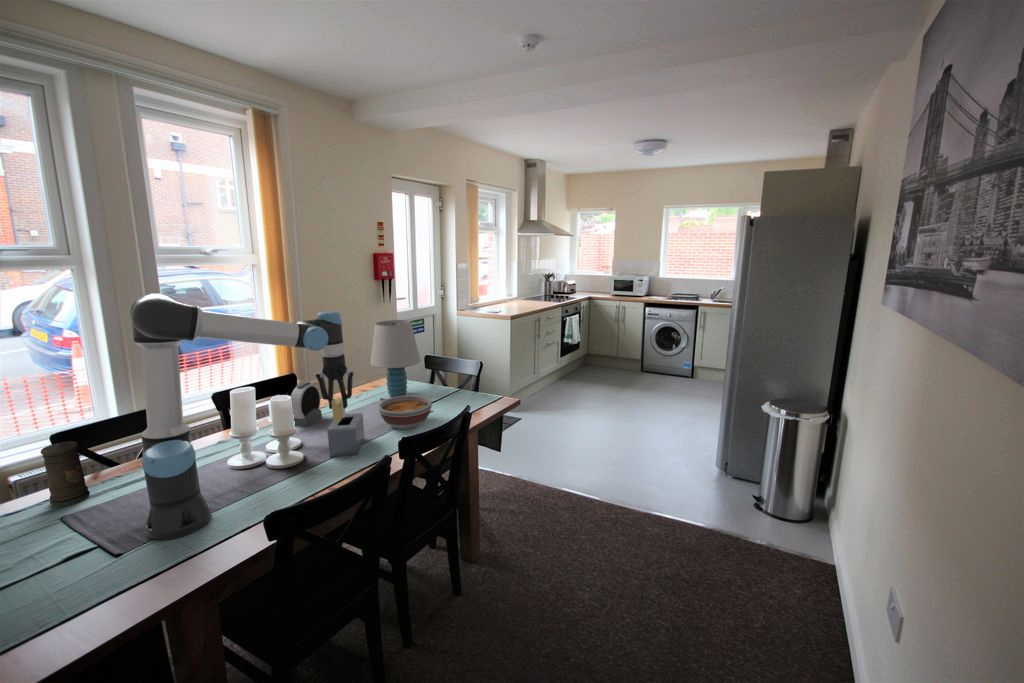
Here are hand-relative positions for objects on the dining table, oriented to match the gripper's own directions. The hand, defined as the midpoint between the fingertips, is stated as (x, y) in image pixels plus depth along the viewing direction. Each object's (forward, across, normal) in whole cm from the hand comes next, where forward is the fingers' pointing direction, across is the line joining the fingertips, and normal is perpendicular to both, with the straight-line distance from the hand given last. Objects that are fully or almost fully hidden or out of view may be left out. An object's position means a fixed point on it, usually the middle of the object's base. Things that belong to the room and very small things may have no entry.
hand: (339, 416), depth 172 cm
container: (+16, +79, +20) cm, 83 cm away
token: (+1, 0, 0) cm, 1 cm away
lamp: (+17, -11, -73) cm, 76 cm away
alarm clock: (+17, +25, -40) cm, 50 cm away
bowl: (+17, -20, -30) cm, 40 cm away
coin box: (+16, 0, -9) cm, 18 cm away
